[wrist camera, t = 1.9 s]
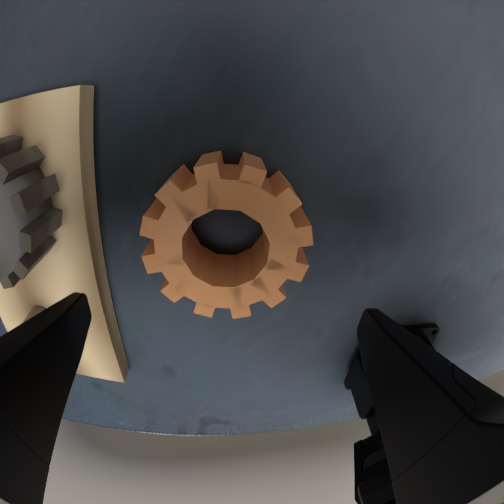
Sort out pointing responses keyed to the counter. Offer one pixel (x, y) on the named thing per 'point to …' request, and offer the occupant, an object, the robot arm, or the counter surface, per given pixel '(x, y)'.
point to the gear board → (55, 220)
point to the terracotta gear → (222, 265)
